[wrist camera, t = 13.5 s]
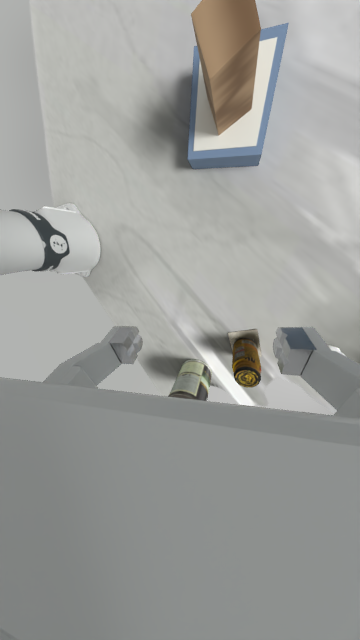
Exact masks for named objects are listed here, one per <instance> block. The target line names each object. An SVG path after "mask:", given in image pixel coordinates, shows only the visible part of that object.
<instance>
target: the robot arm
mask: <svg viewBox="0 0 360 640" xmlns="http://www.w3.org/2000/svg"><path fill="white" fill-rule="evenodd" d="M100 252H101V249H100V242H99V238H98V235H97V233H96V231H95V229H94V227H93V226H92V225H91V223H90V222H89V221H88V220H87V219H86V218H85V217H83V216H82V215H81V213H80V212H79V210H78V208H77V207H76V206H75V205H74V204H73V203H67V204H64V205H61V206H58V207H55V208H52V207H43V208H41V209H38V210H36V211H35V212H30V211H27V210H15V209H13V210H9V211H6V210H0V275H4V274H9V273H15V272H21V271H28V270H32V271H48V270H49V271H56V272H57V273H61V274H70V273H75V274H78V275H80V276H83V277H88V276H89V274H90V272H91V269H92V268H93V267H95V266H96V265H97V263H98V261H99V258H100ZM138 333H139V330H138V328H137V327H134V326H115V327H113V328H112V329H111V330H110V332H109V333H108V334H107V335H106V336H105V338H104V339H103V340H102V341H101V342H100V343H97V344H95V345H93V346H92V347H90V348H88V349H86V350H84V351H83V352H81V353H79V354H77V355H76V356H74V357H72V358H70V359H68V360H67V361H65V362H64V363H61V364H60V365H59V366H58V367H57V368H56V369H55V370H54V371H53V372H52V373H51V374H50V375H49V376H48V378H46V380H45V381H44V382H36V381H28V380H18V379H10V378H1V377H0V640H360V364H359V363H357V362H355V361H353V360H351V359H349V358H348V357H346V356H344V355H342V354H340V353H338V352H337V351H331V349H330V348H329V347H328V345H327V344H326V343H325V341H324V340H323V339H322V337H321V336H320V335H319V333H318V332H317V331H316V329H315V328H313V327H278V328H277V330H276V335H277V338H275V339H274V342H273V352H274V355H275V357H276V358H278V359H279V360H278V363H277V364H278V366H279V369H280V372H281V374H287V375H298V376H301V377H302V378H303V379H304V380H305V381H306V382H307V383H308V384H309V385H310V386H311V387H312V388H313V389H315V390H316V391H317V392H318V393H319V394H320V395H321V396H322V397H323V398H324V399H325V400H326V401H327V402H329V403H330V404H331V405H332V406H333V407H334V408H335V409H336V410H337V412H336V413H335V414H334V415H324V414H315V413H306V412H298V411H289V410H280V409H271V408H263V407H254V406H245V405H236V404H228V403H219V402H210V401H201V400H193V399H184V398H175V397H167V396H158V395H149V394H141V393H132V392H123V391H114V390H105V389H98V387H97V385H98V384H99V383H100V382H101V381H102V380H104V379H105V378H106V377H107V376H108V375H109V374H111V373H112V372H113V371H114V370H115V369H116V368H117V367H119V366H120V365H121V364H133V363H134V361H135V360H136V358H137V352H139V351H140V350H141V348H142V343H143V342H142V338H141V336H140V335H139V334H138Z"/></svg>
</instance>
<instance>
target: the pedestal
mask: <svg viewBox="0 0 360 640" xmlns="http://www.w3.org/2000/svg"><path fill="white" fill-rule="evenodd" d="M288 24H289V23H286V24H282V25H278V26H274V27H270V28H266V29H262V30H261V33H260V41H259V50H258V58H257V67H256V76H255V84H254V93H253V102H252V109H251V110H250V111H249V112H248V113H246V114H245V115H244V116H243V117H241V118H240V119H239V120H238V121H236V122H235V123H234V124H233V125H231V126H230V127H229V128H228V129H226V130H225V131H224V132H223V133H221V134H220V135H218V132H217V129H216V125H215V122H214V118H213V115H212V112H211V108H210V105H209V101H208V98H207V94H206V88H205V83H204V78H203V73H202V68H201V62H200V57H199V52H198V47H197V46H194V57H193V75H192V92H191V109H190V127H189V144H188V161H189V163H190V165H191V167H192V168H193V169H204V168H222V167H240V166H258V165H259V161H260V158H261V154H262V149H263V144H264V139H265V135H266V130H267V125H268V120H269V115H270V111H271V106H272V101H273V96H274V91H275V87H276V82H277V77H278V72H279V67H280V62H281V58H282V53H283V48H284V43H285V38H286V34H287V29H288Z"/></svg>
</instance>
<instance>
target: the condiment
mask: <svg viewBox="0 0 360 640" xmlns="http://www.w3.org/2000/svg"><path fill="white" fill-rule="evenodd" d="M228 336H229V340H230V344H231V348H232V353H233V361H232V362H233V364H232V368H233V372H234V378H235V381H236V382H237V383H238V384H239V385H241V386H244V387H254V386H256V385H258V384H259V382H260V380H261V376H260V373H261V365H260V360H259V357H262V355H261V349H260V343H259V337H258V331H257V330H246V331H238V332H231V333H228Z"/></svg>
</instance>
